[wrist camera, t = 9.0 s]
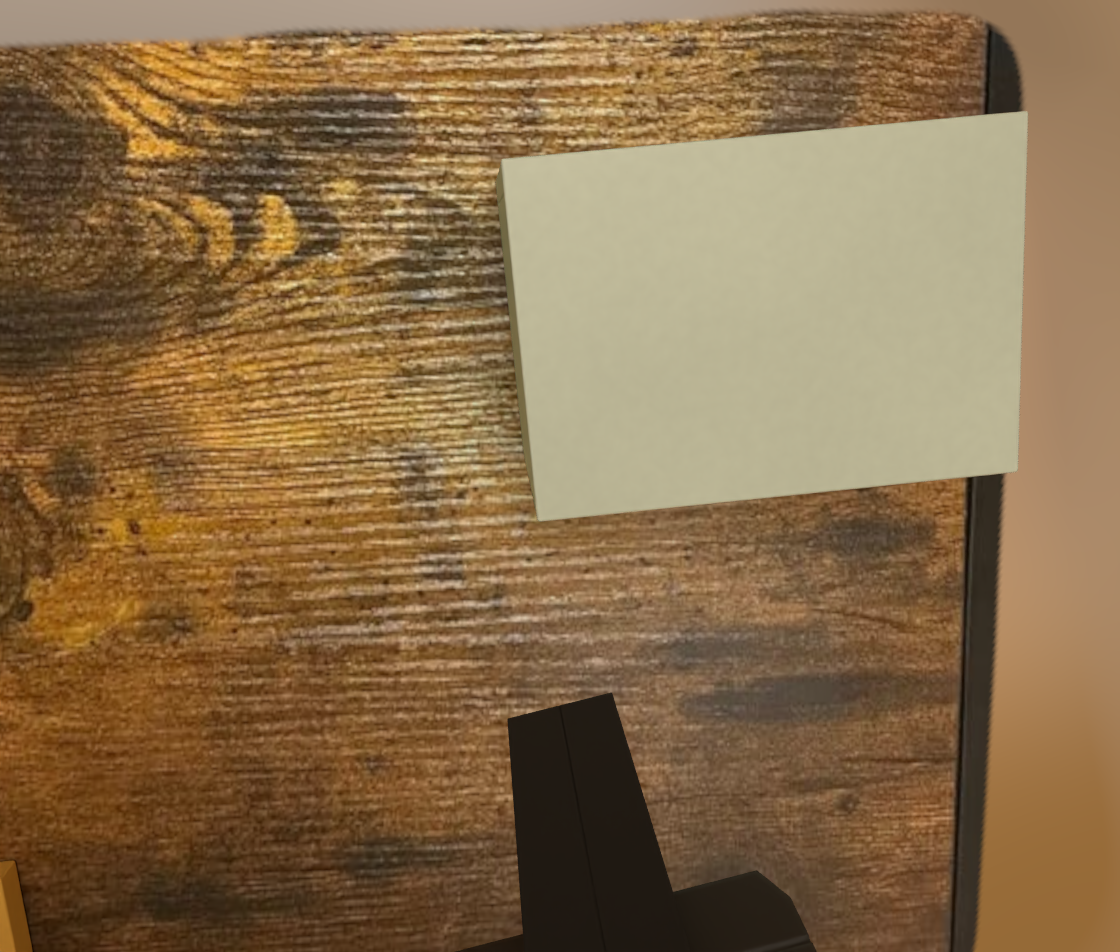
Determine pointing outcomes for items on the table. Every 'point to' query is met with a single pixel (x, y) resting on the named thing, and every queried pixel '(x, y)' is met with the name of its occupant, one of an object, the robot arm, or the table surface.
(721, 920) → the robot arm
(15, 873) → the button block
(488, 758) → the table surface
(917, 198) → the hatch lid
